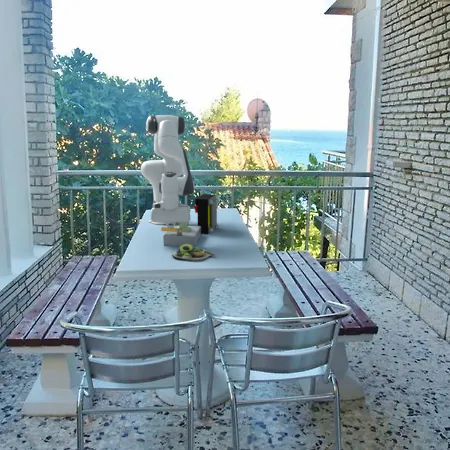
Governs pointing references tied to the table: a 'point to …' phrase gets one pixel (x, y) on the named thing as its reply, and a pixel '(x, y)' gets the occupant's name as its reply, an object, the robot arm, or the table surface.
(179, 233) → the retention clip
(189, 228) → the plug
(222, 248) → the table surface
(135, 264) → the table surface
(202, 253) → the salad plate
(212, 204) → the electrical component
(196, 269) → the table surface
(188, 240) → the grey flat block
